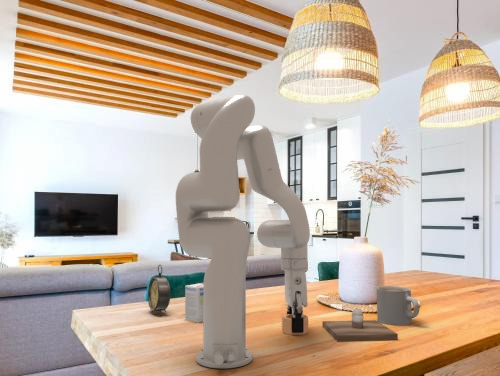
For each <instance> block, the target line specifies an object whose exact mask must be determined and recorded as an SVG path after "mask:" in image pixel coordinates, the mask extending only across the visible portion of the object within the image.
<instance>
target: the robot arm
mask: <svg viewBox="0 0 500 376" xmlns="http://www.w3.org/2000/svg"><path fill="white" fill-rule="evenodd" d="M255 113H256V106H255V101H254V100H253V98H252V97H250V96H249V95H246V94H233V95H229V96H225V97H220V98H216V99H213V100H210V101H206V102H203V103H199V104H197V105H196V106H195V107H194V108H193V109H192V111H191V114H190V123H191V124H190V125H191V127H192V129H193V130H194V132H195V133H196V135H197V136H198V137H199V138H200V139H201V140H200V142H199V143H200V145H199V171H195V172H190V173H187V174H185V175H184V176H182V178H181V179H180V180H179V182H178V184H177V186H176V190H175V207H176V208H175V209H176V210H175V211H176V220H177V221H176V223H177V232H178V239H179V243H180V246H181V248H182V250H183V252H184V253H185V254H187V255H188V256H190V257H195V258H202V259H205V258H206V259H211V260H210V261H209V264H208V265H207V267H206V269H205V272H204V277H203V283H204V287H203V289H204V302H203V326H202V327H203V329H202V331H203V332H202V336H203V337H202V340H203V341H202V349H200V350H198V352H197V353H196V354H195V360H196V363H198V364H199V365H200V366H203V367H206V368H211V369H234V368H239V367H242V366H243V367H244V366H245V365H248V364H250V363H251V362H253V358H254V356H253V355H254V354H253V352H252V351H251V350H250V349H248V348H246V347H247V346H246V345H247V343H246V342H247V341H246V339H247V334H246V333H247V328H246V325H247V321H246V319H247V317H246V316H247V310H246V309H247V304H246V303H247V301H246V300H247V297H246V296H247V293H246V292H247V290H246V285H247V284H246V278H247V262H248V255H249V249H250V246H251V245H250V244H251V234H250V229H249V227H248V225H247V224H246V223H245V222H244V221H243V220H240V219H238V218H235V217H231V216H213V217H212V216H211V217H209V212H210V213H211V212H225V211H230V210H233V209H234V208H236V207H237V206H238V204H239V201H240V197H241V196H240V194H241V193H240V181H239V178H240V177H239V167H238V166H239V165H238V161H239V160H243V162H244V165H245V168H246V172H247V176H248V180H249V184H250V188H251V190H252V191H254V192H255V193H256V194H259V195H261V196H263V197H264V198H267V199H268V200H271V201H273V202H274V203H276V204H277V205H279V206H280V207H281V209H283V210H284V212H285V213H286V215H287V217H288V219H269V220H265V221H263V222H262V223H261V224H260V225H259V226H258V228H257V230H256V231H257V232H256V236H257V240H258V242H259V243H260V244H261V245H262V246H264V247H267V248H271V249H272V248H273V249H274V248H275V249H280V269H281V271H284V299H285V302H286V306H287V307H286V314H292V315H293V317H291V320H292V333H303V332H304V320H303V315H304V311H303V307H304V308H307V307H308V306H309V305H308V289H307V288H308V287H307V275H306V274H307V273H306V271H308V269H309V266H308V263H309V262H308V261H309V260H308V258H309V257H308V252H309V251H308V243H309V241H310V238H311V237H310V235H311V234H310V233H311V232H310V231H311V229H310V224H309V220H308V219H309V218H308V215H307V211H306V208H305V205H304V203H303V202H302V200H301V199H300V196H299V195H297V193H295V191H294V190H293V189H292V188H291V187H290V186H288V184H286V183H285V181H284V180H283V176H282V173H281V168H280V163H279V159H278V155H277V151H276V147H275V146H276V145H275V143H274V138H273V135H272V132H271V130H270V129H269V128H268V127H267V126H264V125H261V124H252V122H253V120H254V118H255V115H256V114H255ZM251 124H252V125H251Z"/></svg>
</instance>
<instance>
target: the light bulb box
mask: <svg viewBox="0 0 500 376" xmlns="http://www.w3.org/2000/svg"><path fill="white" fill-rule="evenodd" d="M203 287H204V282H201V283H199V282H198V283H195V284H194V283H193V284H190V285H189V284H187V285H185V291H184V292H185V294H184V295H185V298H184V300H185V301H184V303H185V304H184V305H185V307H184V312H185V313H184V317H185V318H184V320H185V321H189V322H194V323H199V324H200V323H202V322H203V302H204V289H203Z"/></svg>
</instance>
